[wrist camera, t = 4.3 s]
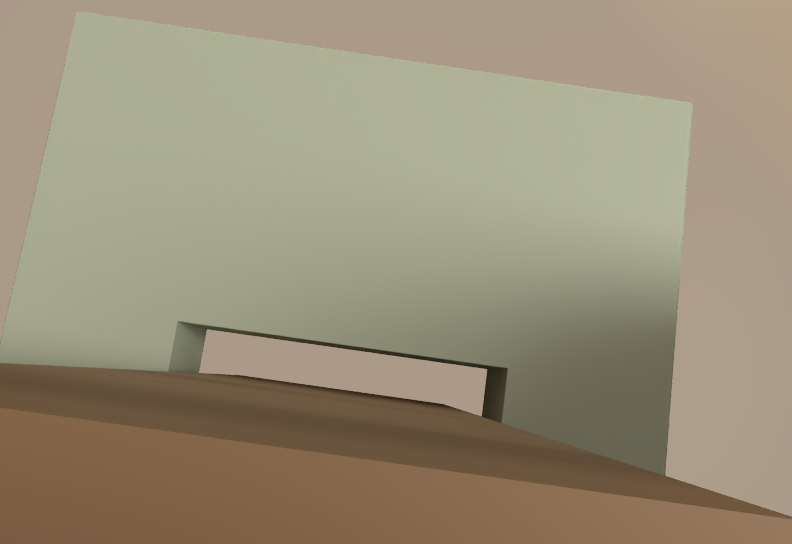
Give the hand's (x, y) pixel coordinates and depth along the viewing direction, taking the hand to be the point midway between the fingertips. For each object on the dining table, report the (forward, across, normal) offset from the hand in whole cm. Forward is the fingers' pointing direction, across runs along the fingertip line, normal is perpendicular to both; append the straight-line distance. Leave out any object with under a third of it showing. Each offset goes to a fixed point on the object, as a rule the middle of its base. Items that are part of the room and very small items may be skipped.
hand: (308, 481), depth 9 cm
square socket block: (+5, 0, +4) cm, 7 cm away
